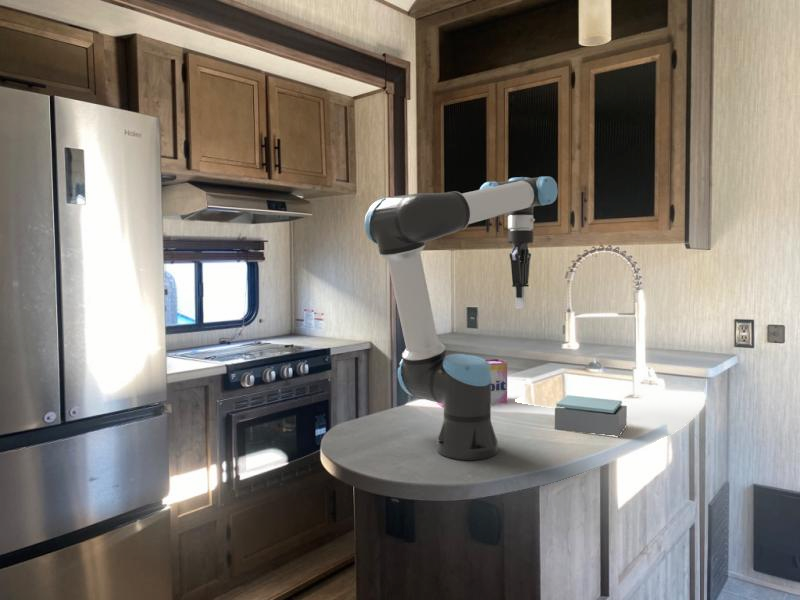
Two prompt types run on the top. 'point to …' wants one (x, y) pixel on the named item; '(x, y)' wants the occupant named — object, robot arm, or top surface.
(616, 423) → the grey open box
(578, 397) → the cover
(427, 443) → the top surface
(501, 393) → the gum box
